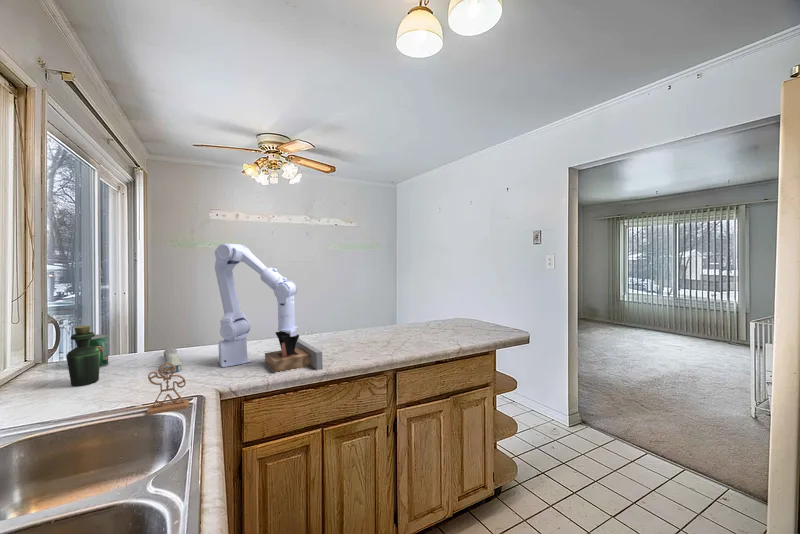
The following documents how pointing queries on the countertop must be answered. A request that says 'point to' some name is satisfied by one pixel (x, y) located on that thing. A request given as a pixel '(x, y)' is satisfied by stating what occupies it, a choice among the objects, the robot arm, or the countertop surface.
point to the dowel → (284, 351)
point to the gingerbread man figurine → (167, 406)
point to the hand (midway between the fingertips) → (287, 352)
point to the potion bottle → (83, 358)
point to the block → (287, 360)
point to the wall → (315, 354)
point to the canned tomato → (101, 347)
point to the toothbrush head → (172, 359)
